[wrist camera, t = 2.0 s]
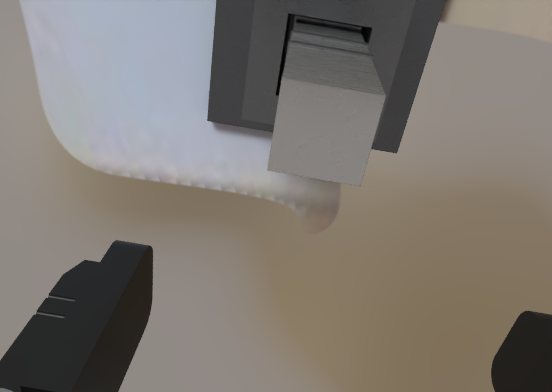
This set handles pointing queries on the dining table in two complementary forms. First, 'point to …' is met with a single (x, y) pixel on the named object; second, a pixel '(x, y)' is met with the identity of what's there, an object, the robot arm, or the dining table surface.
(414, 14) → the sleeve
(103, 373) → the robot arm
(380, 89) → the column
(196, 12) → the dining table surface
